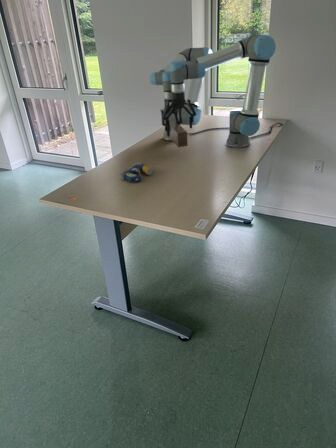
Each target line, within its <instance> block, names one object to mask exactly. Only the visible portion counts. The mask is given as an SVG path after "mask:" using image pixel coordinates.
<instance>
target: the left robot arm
mask: <svg viewBox="0 0 336 448" xmlns="http://www.w3.org/2000/svg"><path fill="white" fill-rule="evenodd" d="M210 53H213V51H212V49H211V48H210V47H207V46H202V47H189V48H185V49H183V50H182V51H180V52H179V53H178V54H176V55H175V56H174V59H172V60H171V61H170V62H168V63H167V64H166V65H165V66H164V67H162V68H161V69H160V70H159V71H156V72H151V74H150V76H149V81H150V84H151V85H153V86H162V87H163V98H164V100H163V101H164V102H163V103H164V108H162V109H160V113H161V114H160V115H161V125H162V126H163V127H164V130H163V135H162V139H163V140H164V141H167V142H173V141H172V140H171V138H170V137H169V131H168V128H167V126H166V123H165V120H163V119H162V116H163V113H164V111H165V108H166V102H172V95H171V93H172V91H171V78H170V63H171V62H174V61H183V63H184V62H186V61H191V60H194V59H197V58H200V57H202V56H205V55H208V54H210ZM208 70H209V69H207V70H206V72H207V71H208ZM204 78H205V77H203V78H196V79H190V82H189V85H188V91H187V96H186V100H188V99H189V100H190V101H191V105H192V107H193V109H194V110H195V112H196V115H195V116H194V117H193V122H192V126H197V124H199V122H200V121H201V117H202V110H201V108H200V105H199V103H200V96H201V93H202V88H203V82H204ZM184 106H185V107H186V108H187V109H188V110H189V111H190V112H191V113H192V111H191V109H190V107H189V105H188V104H187V103H185V105H184ZM171 108H172V104H171V105H170V106H169V109H168V112H167V114H168V113H169V111H170V110H171ZM167 114H166V116H167ZM192 114H193V113H192ZM189 116H190V115H189V114H188V113H187V111H186V110H185V109H184V108H182V109H175V110H174V111H173V113H172V114H171V116H170V117H169V119H168V120H169V121H176V122H177V123H178V124H179V125H180V126H181V127H182V125H183V126H189ZM227 129H229V127H212V128H205V129H203V130H198V131H196V132H187V135H196V134H199V133H200V134H201V133H202V132H206V131H211V130H227Z"/></svg>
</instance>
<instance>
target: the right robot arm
mask: <svg viewBox="0 0 336 448" xmlns="http://www.w3.org/2000/svg"><path fill="white" fill-rule="evenodd" d="M276 48H277V47H276V41H275V39H274V38H273V37H272V36H270V35H268V34H252V35H249V36H247V37H244V38H242V39H240V40H238V41H236V42H235V43H234V44H233V45H232V44H231V45H229V46H227V47H224V48H222V49H219V50H216V51H212V53H210V54H208V55H205V56H202V57H200V58H197V59H194V60H191V61H186V62H184V63H183V61H174V62H171V61H170V62H171V63H170V62H169V63H170V78H171V91H172V93H171V95H172V102H166V108H165V111H164V113H163V116H162V117H161V120H162V119H163V120H165V123H166V126H167V128H168V131H169V132H170V124H169V120H168V119H169V117H170V116H171V114H172V113H173V111H174V110H175V109H182V108H184V109H185V110H186V111H187V113H188V114H189V115H190V116H189V125H188V126H189V129H193V125H192V122H193V117H194V116H195V115H196V112H195V110H194V109H193V107H192V105H191V101H190V100H189V99H188V100H187V99H186V92H185V80H191V79H196V78H203V77H204V78H205V77H206V74H207V73H206V72H207V71H208V70H210V69H212V68H215V67H218V66H221V65H223V64H227V63H229V62H232V61H235V60H238V59H240V60H242V59H246V58H247V62H248V63H249V71H248V75H247V81H246V87H245V94H244V100H243V105H242V108H235V109H231V110H230V111H229V127H228V128H229V133H228V136H227V139H226V146H227V147H229V148H234V149H240V148H246V147H248V146H250V144H251V143H250V139H253V138H257V137H261V136H264V135H267V134H270V133H271V131H272V127H274V126H276V125H282V126H283V125H284V124H283V123H282V122H276V123H274V124H271V125H270V126H269V130H268V131H267V132H265V133H261V134H258V135H255V134H257V132H259V130H260V126H261V122H260V120H259V117H260V112H259V111H258V108H259V102H260V97H261V92H262V88H263V82H264V77H265V71H266V66H268V65H269V64H270V60H271V58H272V57H273V56H274V54H275V53H276ZM207 69H208V70H207ZM206 70H207V71H206ZM185 103H187V104H188V105H189V107H190V109H191V111H192V113H193V114H192V113H191V112H190V111H189V110H188V109H187V108H186V107H185V106H184V105H185ZM171 104H172V108H171V110H170V111H169V113H168V114H167V112H168V109H169V106H170V105H171ZM166 114H167V116H166ZM165 123H164V124H165Z"/></svg>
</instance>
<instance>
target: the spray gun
mask: <svg viewBox="0 0 336 448" xmlns="http://www.w3.org/2000/svg"><path fill="white" fill-rule="evenodd" d="M153 171H154V170H153V168H151V167H150V166H148V165H145V164H144V162H141V163H134V164H133V165H131V166H130V167H129V168H128V169H126V170H125V171H124V172H122V173H121V174H120V175H121V176H120V179H121V180H123V181H125V180H126V181H128V182H130V183H134V182H135V183H136V182H140V181H141V180H142V177H143V175H141V173H144V174H145V175H147V176H151V175H152V174H153Z"/></svg>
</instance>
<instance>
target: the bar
mask: <svg viewBox="0 0 336 448" xmlns="http://www.w3.org/2000/svg"><path fill="white" fill-rule="evenodd" d="M169 124H170V132H169V137H170V138H171V140H172V141H171V142H173V143H174V144H175V145H176V147H177V148H184V147H188V146H189V145H188V134H187V133H188V131H187V130H186V129H185V128H183V127H182V125H181V126H180V125H179V124H178V123H177V122H176V121H169Z"/></svg>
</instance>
